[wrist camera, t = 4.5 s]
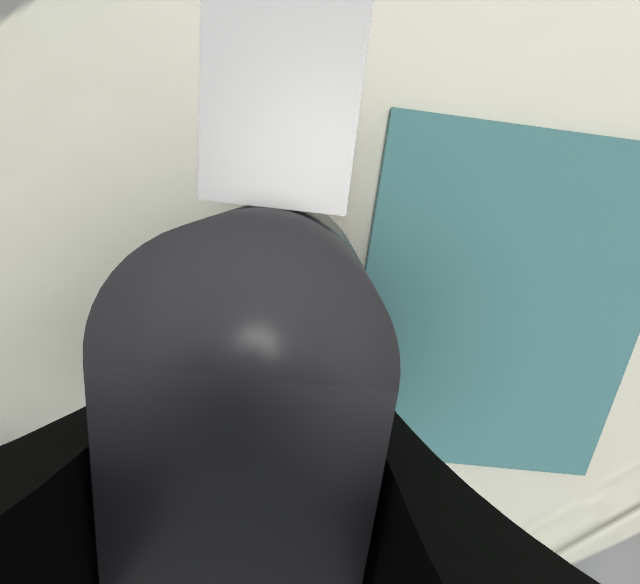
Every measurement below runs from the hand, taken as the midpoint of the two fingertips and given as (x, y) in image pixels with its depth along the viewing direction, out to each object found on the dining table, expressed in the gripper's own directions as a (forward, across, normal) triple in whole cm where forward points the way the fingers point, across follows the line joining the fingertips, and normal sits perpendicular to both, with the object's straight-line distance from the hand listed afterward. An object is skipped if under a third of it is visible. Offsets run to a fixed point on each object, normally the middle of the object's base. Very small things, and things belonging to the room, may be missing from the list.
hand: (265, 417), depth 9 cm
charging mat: (+8, -10, -1) cm, 13 cm away
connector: (+1, 0, -1) cm, 2 cm away
